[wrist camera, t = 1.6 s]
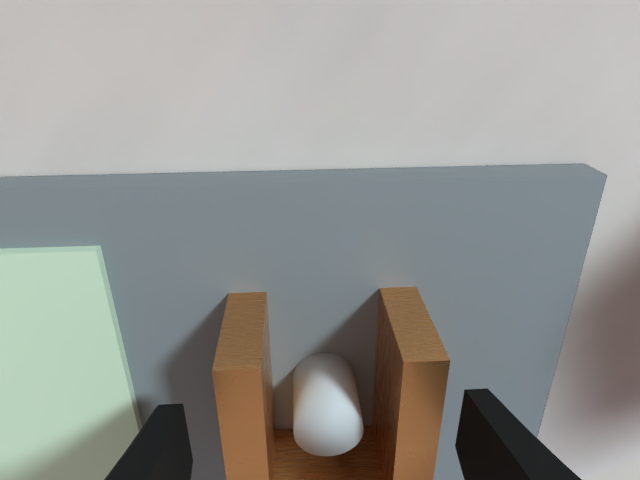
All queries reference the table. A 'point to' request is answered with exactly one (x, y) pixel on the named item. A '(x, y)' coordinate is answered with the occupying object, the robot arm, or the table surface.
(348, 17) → the table surface
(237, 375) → the c link
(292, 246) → the peg board
